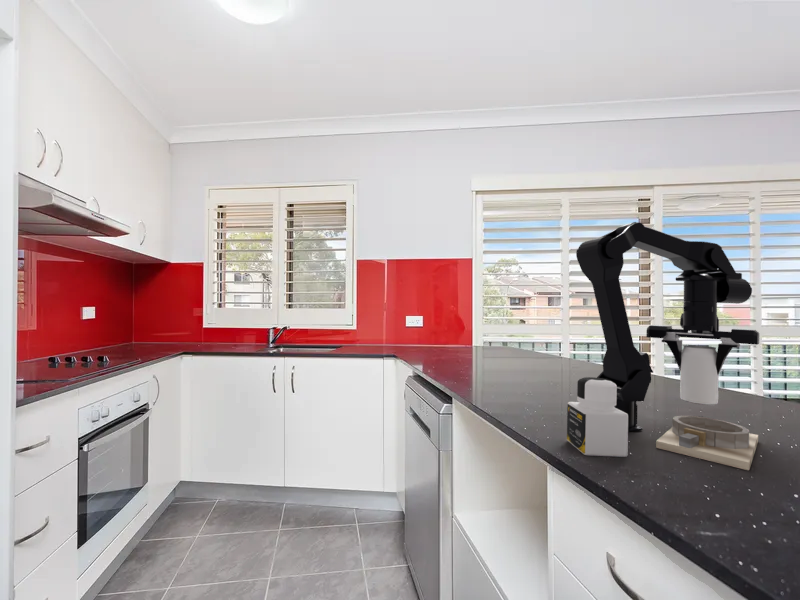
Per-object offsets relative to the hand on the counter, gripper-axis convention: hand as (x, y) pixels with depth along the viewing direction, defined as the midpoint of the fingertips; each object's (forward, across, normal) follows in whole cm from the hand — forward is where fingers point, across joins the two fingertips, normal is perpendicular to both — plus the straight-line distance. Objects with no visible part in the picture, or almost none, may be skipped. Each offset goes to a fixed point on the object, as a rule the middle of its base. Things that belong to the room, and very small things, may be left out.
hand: (698, 373), depth 82 cm
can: (+6, 0, 0) cm, 6 cm away
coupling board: (+11, -4, +15) cm, 19 cm away
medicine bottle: (+11, +9, +34) cm, 37 cm away
